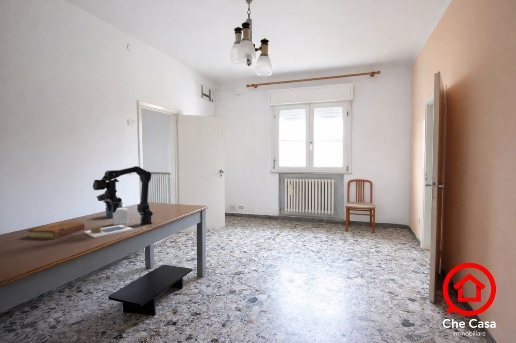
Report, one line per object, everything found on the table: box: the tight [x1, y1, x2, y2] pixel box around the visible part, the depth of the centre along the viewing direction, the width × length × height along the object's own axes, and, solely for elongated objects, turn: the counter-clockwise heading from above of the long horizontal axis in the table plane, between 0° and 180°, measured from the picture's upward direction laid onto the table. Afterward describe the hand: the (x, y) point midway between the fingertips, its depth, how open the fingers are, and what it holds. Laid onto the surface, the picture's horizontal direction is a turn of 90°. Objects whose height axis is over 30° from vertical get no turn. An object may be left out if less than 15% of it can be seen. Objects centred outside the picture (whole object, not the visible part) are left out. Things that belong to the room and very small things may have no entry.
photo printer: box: [112, 207, 129, 226], centre depth 199 cm, size 10×4×12 cm, turn 124°
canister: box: [104, 202, 124, 219], centre depth 223 cm, size 13×13×18 cm
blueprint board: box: [83, 224, 134, 238], centre depth 179 cm, size 24×18×4 cm
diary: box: [27, 221, 85, 240], centre depth 173 cm, size 23×19×6 cm
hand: (111, 211), depth 180 cm, fingers open, 8 cm apart
